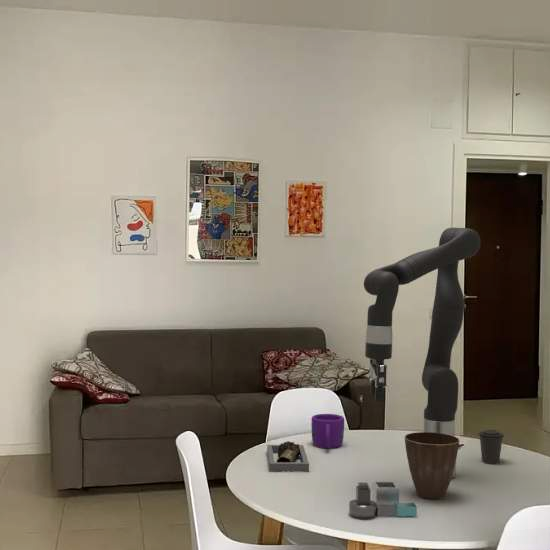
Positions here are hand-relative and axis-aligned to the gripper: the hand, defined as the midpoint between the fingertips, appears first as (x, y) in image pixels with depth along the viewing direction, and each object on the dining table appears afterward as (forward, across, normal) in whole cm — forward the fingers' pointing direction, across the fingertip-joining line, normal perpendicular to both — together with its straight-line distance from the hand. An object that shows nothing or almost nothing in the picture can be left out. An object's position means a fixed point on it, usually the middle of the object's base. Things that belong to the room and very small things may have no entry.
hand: (376, 398), depth 218 cm
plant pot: (+26, -6, -15) cm, 30 cm away
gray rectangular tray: (+26, +27, +23) cm, 44 cm away
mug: (+26, +45, +9) cm, 53 cm away
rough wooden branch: (+27, +26, +23) cm, 44 cm away
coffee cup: (+25, +28, -43) cm, 57 cm away
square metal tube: (+26, -14, -1) cm, 29 cm away
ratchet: (+26, -23, +1) cm, 34 cm away
